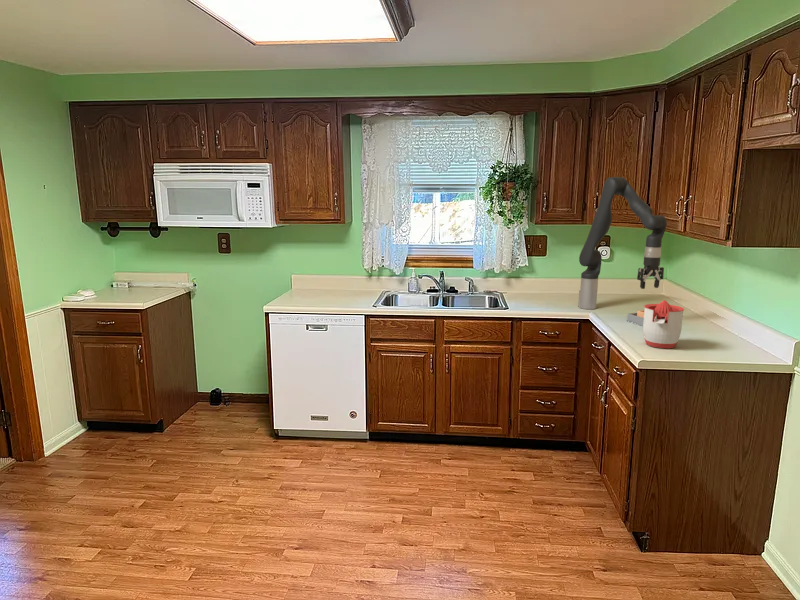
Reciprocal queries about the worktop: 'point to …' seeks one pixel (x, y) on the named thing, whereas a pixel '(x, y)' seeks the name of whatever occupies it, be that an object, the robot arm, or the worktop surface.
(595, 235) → the robot arm
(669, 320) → the citrus juicer
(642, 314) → the small crate
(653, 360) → the worktop surface
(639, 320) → the large crate
